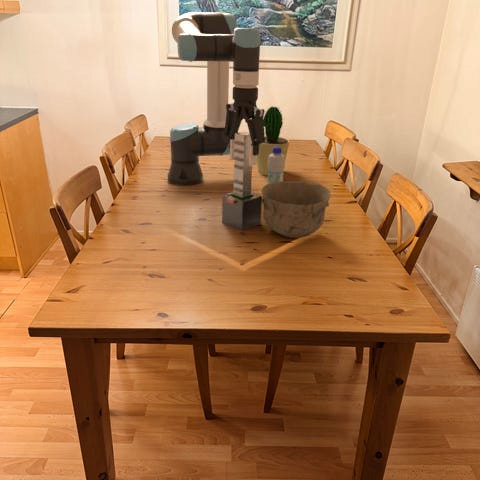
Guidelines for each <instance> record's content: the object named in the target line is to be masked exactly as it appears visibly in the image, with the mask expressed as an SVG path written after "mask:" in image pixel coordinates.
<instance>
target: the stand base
mask: <svg viewBox="0 0 480 480" xmlns="http://www.w3.org/2000/svg"><path fill="white" fill-rule="evenodd" d="M233 193H234V191H230V192H228V193H225V194H222V196H221V197H222V198H221V199H222V200H221V206H222V207H221V210H222V211H221V221H222V222H221V223H222V224H224V225H226V226H229V227H231V228H233V229H235V230H238V231H240V232H243V231H247V230H249V229H251V228H254V227H255V226H259V225H261V224H262V211H263V210H262V207H263V202H262V201H261V199H263V195H262V194H261V195H260V194H258V193H255V192H252V191H251V194H252V197H250V198H247V199H244V200H241V199H238V198H235V197H233Z"/></svg>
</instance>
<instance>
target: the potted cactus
mask: <svg viewBox="0 0 480 480" xmlns="http://www.w3.org/2000/svg"><path fill="white" fill-rule="evenodd" d="M263 119H264V134H265V142H264V143H261V144H260V145H259V154H258V155H257V171H258V172H257V173H258V174H260V175H262V176H266V177H268V159H269V155H270V154H272V153H273V148H274V147H280V148H281V149H282V152H281V154H283V155H284V156H285V161H286V159H287V154H288V150H289V145H290V142H291V141H290V140H289V139H288V138H286V137H282V136H281V134H282V132H281V131H283V130H282V129H283V124H284V121H283V120H284V118H283V114H282V110H280V106H278V107H277V106H273V105H272V106H270V107H269V106H268V108H267V110H266V109H264V117H263ZM255 141H256V140H255Z"/></svg>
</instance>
